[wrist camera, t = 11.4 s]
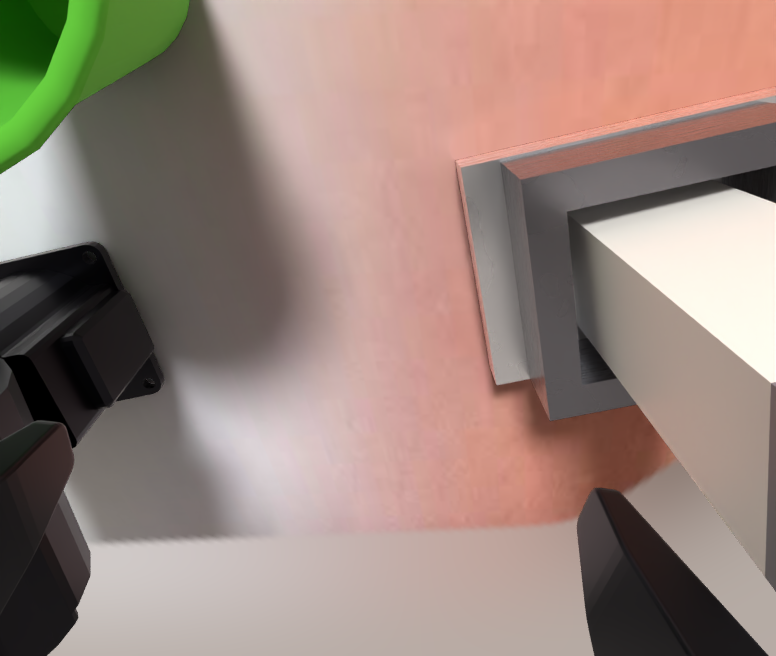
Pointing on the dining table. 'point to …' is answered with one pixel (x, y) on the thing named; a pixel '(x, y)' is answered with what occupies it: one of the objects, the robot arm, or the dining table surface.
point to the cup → (70, 59)
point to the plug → (692, 335)
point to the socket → (551, 234)
